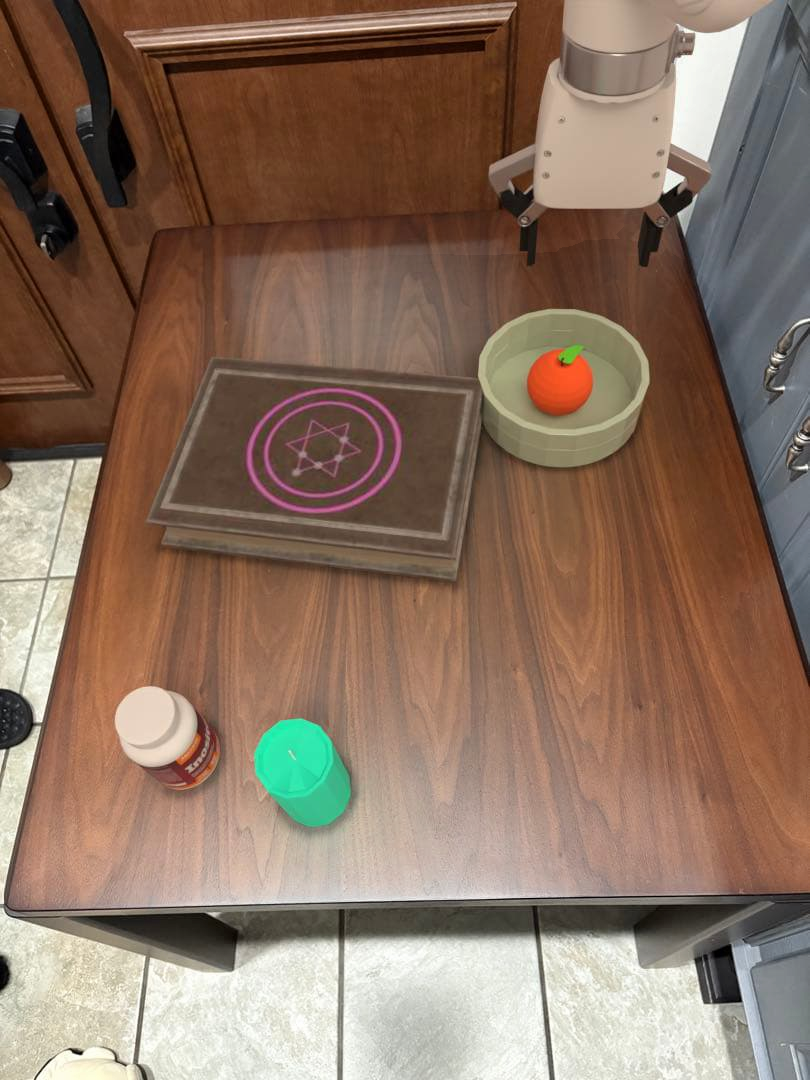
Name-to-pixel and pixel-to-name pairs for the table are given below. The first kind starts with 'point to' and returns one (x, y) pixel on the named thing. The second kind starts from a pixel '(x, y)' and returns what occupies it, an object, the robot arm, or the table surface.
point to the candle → (303, 772)
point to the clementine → (560, 381)
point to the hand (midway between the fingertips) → (586, 256)
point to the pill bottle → (167, 737)
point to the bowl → (593, 424)
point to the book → (325, 467)
